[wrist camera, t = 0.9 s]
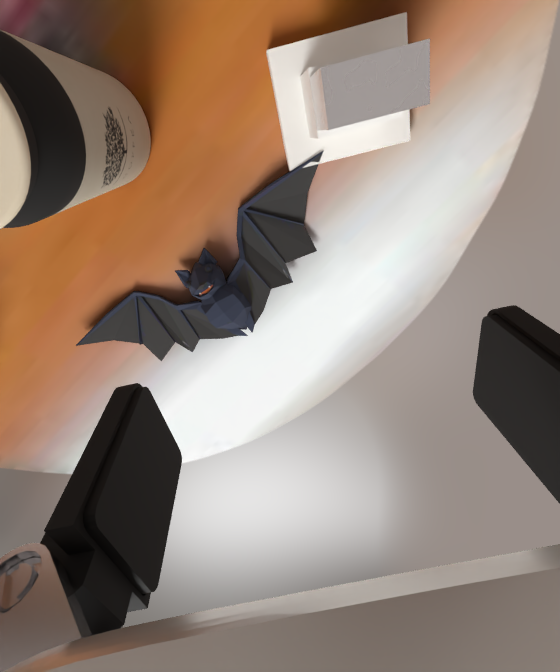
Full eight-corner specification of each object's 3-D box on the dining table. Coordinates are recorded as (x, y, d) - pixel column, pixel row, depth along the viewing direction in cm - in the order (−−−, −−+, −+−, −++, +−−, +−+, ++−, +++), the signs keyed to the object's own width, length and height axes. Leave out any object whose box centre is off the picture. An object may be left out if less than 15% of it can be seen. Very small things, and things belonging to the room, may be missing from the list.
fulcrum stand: (266, 53, 26) (274, 18, 18) (400, 16, 25) (469, -36, 17) (288, 169, 30) (303, 183, 22) (404, 140, 29) (462, 143, 21)
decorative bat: (138, 418, 37) (60, 351, 33) (149, 394, 41) (81, 332, 37) (386, 251, 30) (323, 142, 26) (373, 241, 33) (316, 145, 30)
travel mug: (33, 152, 28) (-240, 178, 12) (58, 42, 25) (-268, -112, 9) (132, 204, 30) (10, 281, 15) (166, 110, 27) (57, 82, 12)
